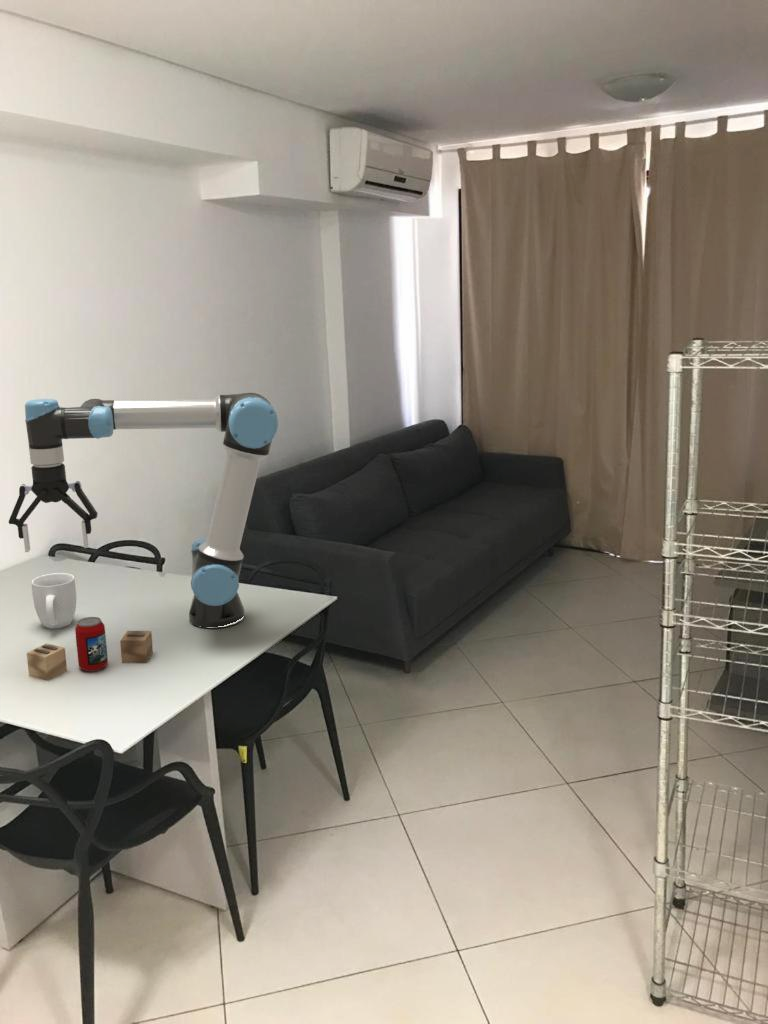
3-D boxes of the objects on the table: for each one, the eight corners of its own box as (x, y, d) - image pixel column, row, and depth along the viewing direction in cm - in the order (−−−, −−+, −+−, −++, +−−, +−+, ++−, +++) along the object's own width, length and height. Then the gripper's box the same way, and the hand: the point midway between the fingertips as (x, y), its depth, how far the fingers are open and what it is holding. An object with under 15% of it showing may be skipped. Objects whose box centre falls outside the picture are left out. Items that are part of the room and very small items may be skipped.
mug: (74, 635, 221) (70, 589, 218) (30, 639, 218) (25, 592, 215) (81, 615, 235) (76, 571, 232) (39, 618, 233) (34, 574, 229)
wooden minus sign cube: (152, 653, 211) (151, 629, 209) (146, 663, 205) (144, 639, 203) (129, 652, 211) (127, 629, 209) (121, 663, 205) (119, 639, 203)
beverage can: (99, 674, 199) (94, 627, 196) (73, 671, 200) (68, 625, 197) (113, 662, 205) (109, 616, 202) (88, 660, 206) (84, 614, 203)
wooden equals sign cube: (67, 670, 201) (64, 646, 199) (47, 680, 196) (45, 656, 194) (48, 666, 203) (46, 642, 202) (29, 675, 198) (26, 651, 196)
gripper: (103, 458, 207) (111, 540, 212) (-5, 463, 201) (5, 548, 206) (101, 464, 200) (109, 548, 205) (-12, 470, 194) (-1, 557, 199)
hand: (57, 548), depth 206 cm, fingers open, 13 cm apart
